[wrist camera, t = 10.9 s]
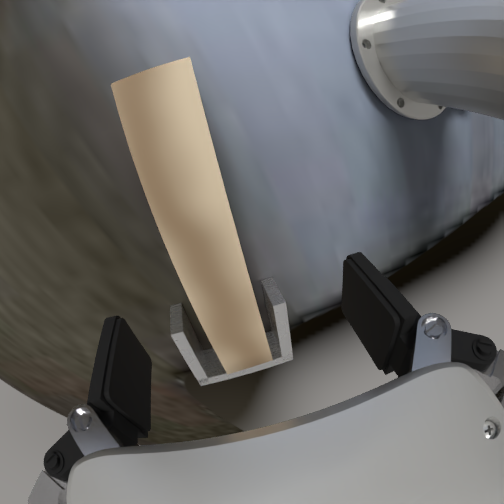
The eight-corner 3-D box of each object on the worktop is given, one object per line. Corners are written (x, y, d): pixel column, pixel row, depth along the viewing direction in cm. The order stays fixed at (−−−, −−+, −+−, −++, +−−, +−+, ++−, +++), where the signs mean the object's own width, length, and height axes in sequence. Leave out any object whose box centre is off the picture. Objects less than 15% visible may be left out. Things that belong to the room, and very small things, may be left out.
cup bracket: (272, 276, 23) (285, 302, 20) (281, 334, 27) (293, 359, 24) (170, 305, 22) (170, 334, 19) (197, 358, 26) (200, 385, 23)
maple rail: (188, 71, 15) (189, 56, 10) (257, 321, 26) (273, 360, 22) (129, 91, 14) (110, 83, 10) (218, 333, 26) (227, 374, 21)
